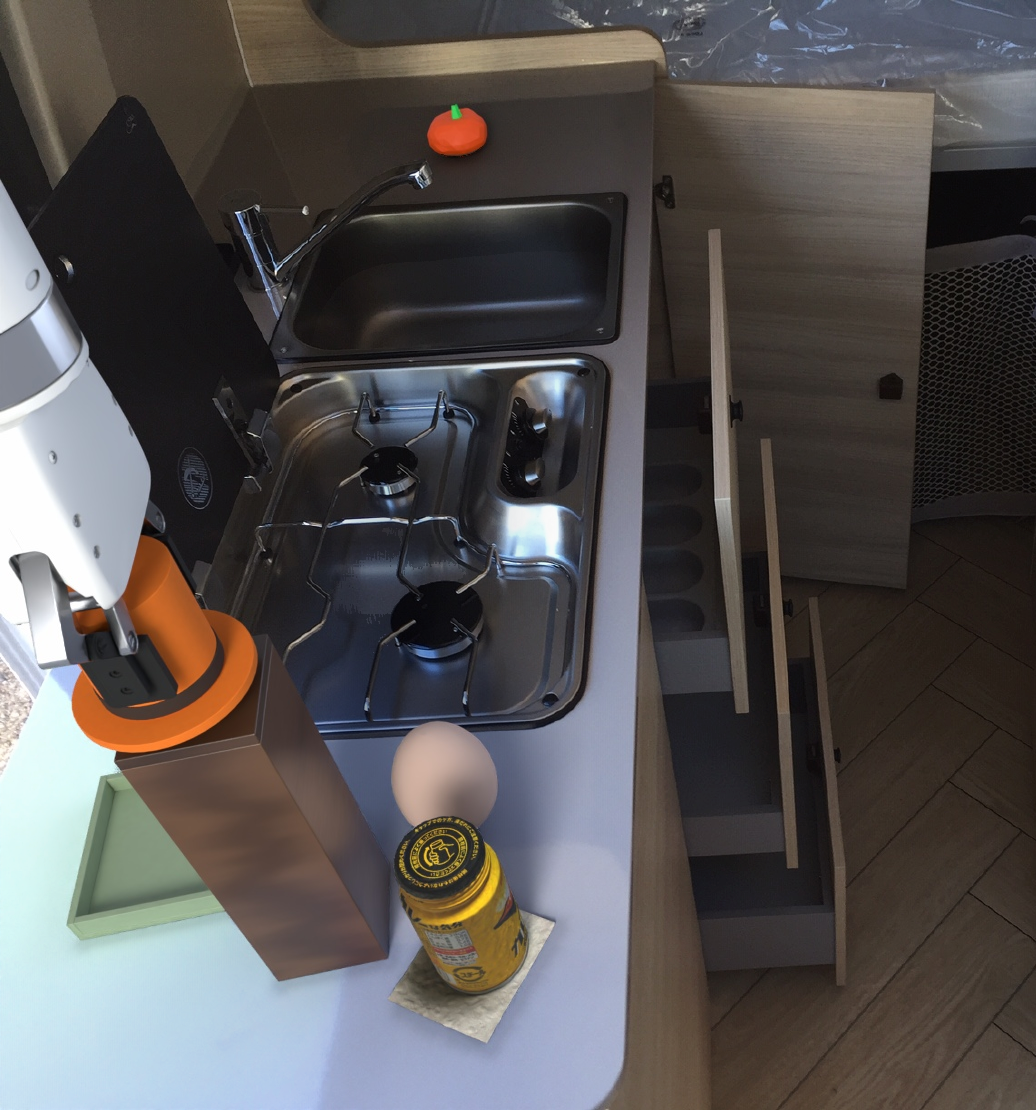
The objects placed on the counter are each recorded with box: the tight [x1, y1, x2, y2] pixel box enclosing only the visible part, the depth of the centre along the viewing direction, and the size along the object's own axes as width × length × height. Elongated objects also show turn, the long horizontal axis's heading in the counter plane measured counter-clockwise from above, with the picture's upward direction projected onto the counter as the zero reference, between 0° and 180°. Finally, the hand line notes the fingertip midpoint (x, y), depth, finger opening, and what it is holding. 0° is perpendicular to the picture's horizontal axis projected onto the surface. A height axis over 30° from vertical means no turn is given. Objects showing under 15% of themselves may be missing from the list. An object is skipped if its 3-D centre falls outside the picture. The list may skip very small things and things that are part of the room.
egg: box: [390, 720, 499, 829], centre depth 81 cm, size 7×7×10 cm
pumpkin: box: [426, 103, 488, 158], centre depth 156 cm, size 7×8×6 cm
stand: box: [113, 633, 391, 982], centre depth 71 cm, size 7×7×24 cm
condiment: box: [387, 816, 556, 1044], centre depth 73 cm, size 7×8×12 cm
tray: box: [65, 771, 226, 941], centre depth 84 cm, size 12×12×2 cm
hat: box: [67, 535, 257, 753], centre depth 59 cm, size 9×9×8 cm
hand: (155, 644), depth 60 cm, fingers closed on hat, 6 cm apart
